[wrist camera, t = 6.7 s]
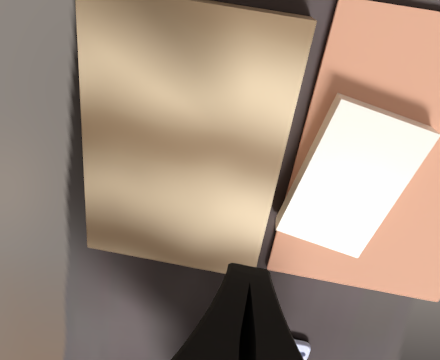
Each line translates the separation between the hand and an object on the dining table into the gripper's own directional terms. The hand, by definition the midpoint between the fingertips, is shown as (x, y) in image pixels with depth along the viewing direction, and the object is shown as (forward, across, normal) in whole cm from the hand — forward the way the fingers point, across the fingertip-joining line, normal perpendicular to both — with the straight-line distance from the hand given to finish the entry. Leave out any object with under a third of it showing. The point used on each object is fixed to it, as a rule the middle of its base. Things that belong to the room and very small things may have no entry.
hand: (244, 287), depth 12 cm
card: (+9, -5, -1) cm, 10 cm away
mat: (+9, -8, -1) cm, 12 cm away
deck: (+9, +4, -1) cm, 10 cm away
